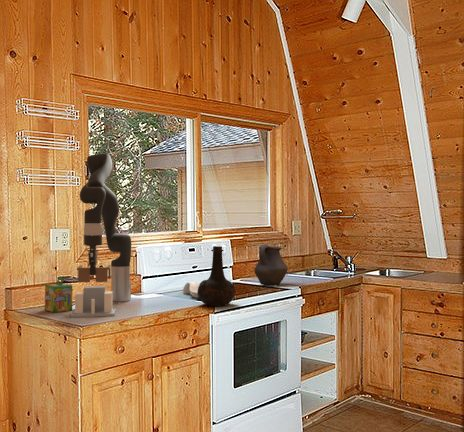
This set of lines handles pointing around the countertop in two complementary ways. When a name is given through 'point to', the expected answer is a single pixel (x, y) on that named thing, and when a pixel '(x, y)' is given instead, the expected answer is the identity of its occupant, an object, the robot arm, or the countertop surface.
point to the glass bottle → (216, 283)
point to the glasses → (99, 272)
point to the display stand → (93, 302)
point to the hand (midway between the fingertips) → (92, 274)
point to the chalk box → (58, 297)
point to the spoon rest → (191, 289)
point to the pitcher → (270, 266)
